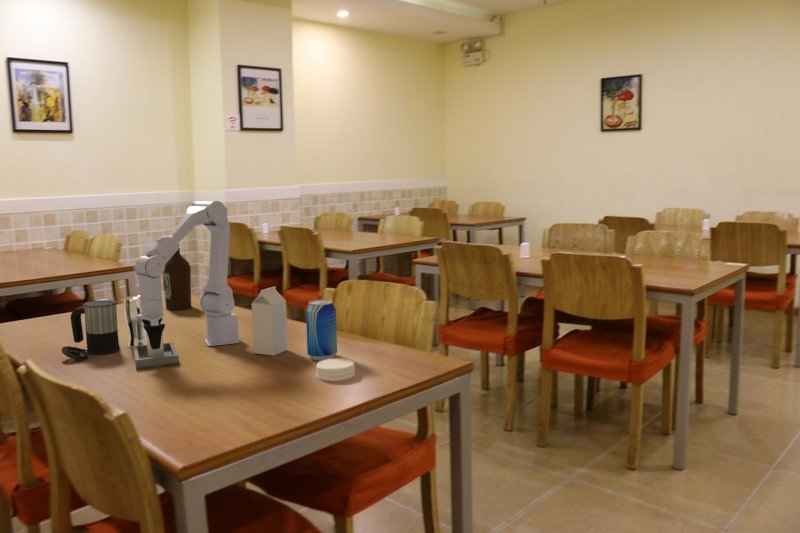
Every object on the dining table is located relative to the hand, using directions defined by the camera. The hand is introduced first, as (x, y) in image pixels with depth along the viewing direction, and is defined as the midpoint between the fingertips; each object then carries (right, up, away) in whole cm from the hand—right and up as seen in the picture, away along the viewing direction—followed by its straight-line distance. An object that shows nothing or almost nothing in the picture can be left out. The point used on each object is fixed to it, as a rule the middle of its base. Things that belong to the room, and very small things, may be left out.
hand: (154, 345), depth 189 cm
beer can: (+47, -4, +1) cm, 48 cm away
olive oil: (-17, +6, +72) cm, 74 cm away
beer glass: (-11, -2, +16) cm, 20 cm away
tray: (0, -4, +1) cm, 4 cm away
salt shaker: (0, -3, +1) cm, 4 cm away
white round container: (+53, -6, -16) cm, 56 cm away
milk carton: (+32, -3, +7) cm, 33 cm away
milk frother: (-21, -4, +7) cm, 22 cm away
